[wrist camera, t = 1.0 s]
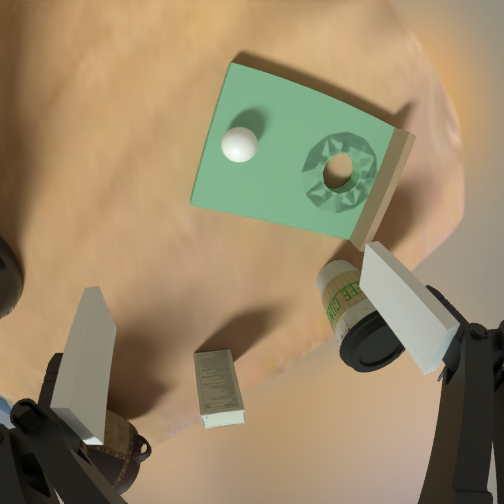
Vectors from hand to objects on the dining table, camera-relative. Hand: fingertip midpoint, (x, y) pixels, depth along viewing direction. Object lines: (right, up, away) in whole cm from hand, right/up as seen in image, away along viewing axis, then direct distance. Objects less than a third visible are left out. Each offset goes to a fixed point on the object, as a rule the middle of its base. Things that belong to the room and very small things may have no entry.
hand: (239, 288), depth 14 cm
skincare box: (-6, -16, +35) cm, 38 cm away
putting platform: (+6, +13, +20) cm, 25 cm away
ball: (-1, +12, +15) cm, 19 cm away
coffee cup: (+13, -2, +31) cm, 33 cm away
